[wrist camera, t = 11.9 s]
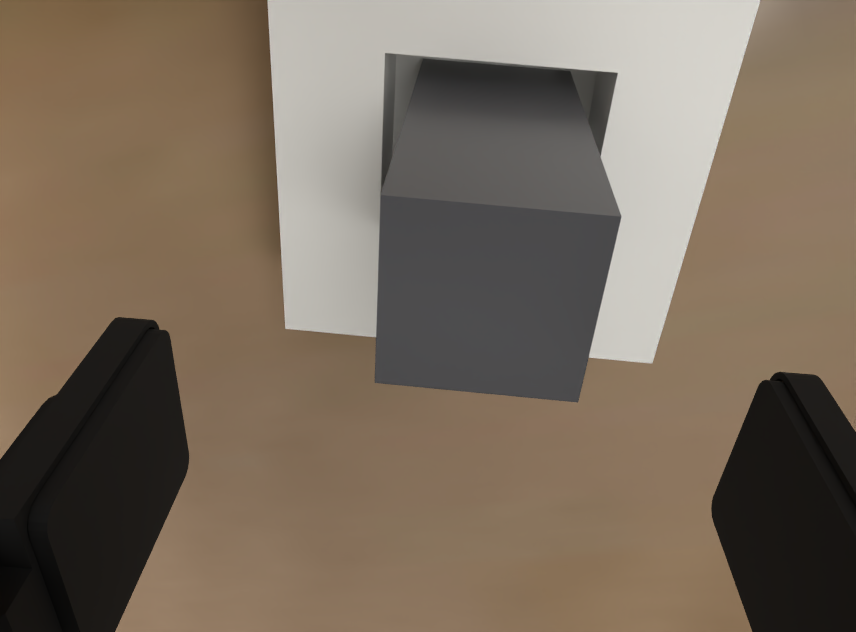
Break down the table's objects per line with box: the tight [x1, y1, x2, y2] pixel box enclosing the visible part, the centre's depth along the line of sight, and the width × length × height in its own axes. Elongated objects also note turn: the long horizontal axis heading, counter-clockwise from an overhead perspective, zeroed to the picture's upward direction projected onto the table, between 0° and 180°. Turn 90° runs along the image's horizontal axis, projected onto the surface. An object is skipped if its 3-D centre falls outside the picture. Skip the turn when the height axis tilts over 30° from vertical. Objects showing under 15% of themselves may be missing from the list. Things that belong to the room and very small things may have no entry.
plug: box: [375, 59, 622, 402], centre depth 18 cm, size 4×4×10 cm
